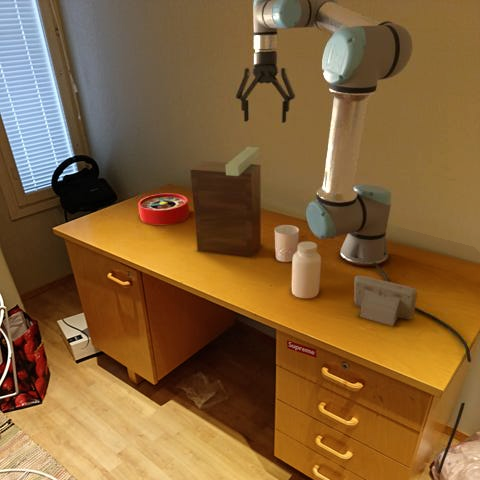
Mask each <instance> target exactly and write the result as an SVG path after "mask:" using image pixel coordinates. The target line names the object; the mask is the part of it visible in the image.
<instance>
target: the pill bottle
mask: <svg viewBox="0 0 480 480" xmlns="http://www.w3.org/2000/svg"><path fill="white" fill-rule="evenodd" d="M291 263H292V264H291V265H292V266H291V293H292V295H293V296H294V297H296V298H299V299H313V298H315V297H317V296H318V295H319V293H320V283H321V269H322V256H321V255H320V254H319V253H318V244H317V243H316V242H314V241H308V240H307V241H301V242H298V246H297V251H296V253H295V254H294V256H293V259H292V261H291Z"/></svg>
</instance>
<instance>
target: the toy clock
mask: <svg viewBox="0 0 480 480" xmlns="http://www.w3.org/2000/svg"><path fill="white" fill-rule="evenodd" d="M137 205H138V212H139V218H140V220H141V222H143V223H146V224H149V225H154V226H155V225H156V226H164V225H165V226H166V225H171V224H177V223H180V222H182V221H184V220H186V219H187V218H189V216H190V208H189V199H188V198H187V196H186V195H184V194H183V195H182V194H180V193H171V192H169V193H168V192H167V193H157V194H152V195H148V196H145V197H144V198H141V199H140V200H139V201H138V203H137Z"/></svg>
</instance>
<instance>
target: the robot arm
mask: <svg viewBox="0 0 480 480" xmlns="http://www.w3.org/2000/svg"><path fill="white" fill-rule="evenodd" d="M252 9H253V14H252V15H253V50H254V52H253V68H250V67H245V68H244V71H243V72H244V73H243V78H242V80H241V83H240V85H239V88H238V90H237V92H236V94H235V98H236V99H238V100H240V103H241V105H240V107H241V111H242V112H243V119H244V120H243V121H244V122H246V123H247V122H248V121H249V120H250V119H249V116H250V115H249V113H250V111H249V99H247V98H248V97H249V95H251V94H252V92H253V90H254V89H255V87H256V86H257V85H258V84H272V85H273V86H274V88H275V89H276V90H277V91H278V93H279V94H280V96H281V97H282V99H283V101H282V110H281V111H282V112H281V123H283V124H285V123H286V122H287V113H288V112H289V111H290V101H291V100H294V99H295V98H296V94H295V92H294V89H293V87H292V84H291V82H290V80H289V77H288V74H287V73H288V72H287V67H284V66H283V67H281V68H278V52H277V49H278V29H279V30H289V29H299V28H303V29H304V28H314V29H317V30H319V31H322V32H323V33H325V34H327V35H329V36H331V37H330V38H329V39H328V41H327V43H326V45H325V48H324V51H323V54H322V60H321V61H322V62H321V68H322V71H323V77H324V80H325V81H326V82H327V83H328V84H329V86H328V89H329V91H330V93H331V94H332V95H333V103H332V112H331V117H330V118H331V119H330V127H329V135H328V143H327V150H326V158H325V166H324V173H323V181H322V185H321V187H319V188H318V189H317V190H316V193H315V194H316V195H315V200H311V201H310V202H309V203H308V204H307V206H306V210H305V214H306V221H307V225H308V226H309V229H310V231H311V232H312V234H313V235H314V236H315V237H316V238H318V239H320V240H327V239H335V238H336V237H340V236H344V235H346V237H345V239H344V241H343V244H342V246H341V248H340V253H339V257H340V259H341V260H342V261H344V262H345V263H347V264H349V265H352V266H356V267H360V268H361V267H362V268H374V267H376V269H377V270H378V271H379V272H380V273H381V275H382V276H383V277H384V279H385V281H387V282H390V280H389V278H388V276H387V274H386V272H385V271H384V270H383V269H382V268H381V267H380V266H381V265H384V264H385V263H386V262H387V261H388V258H389V250H388V244H387V237H386V234H387V229H388V223H389V217H390V212H391V206H392V193H391V191H390V190H388V189H387V188H385V187H382V186H379V185H373V184H366V183H365V184H356V185H354V183H355V179H356V174H357V166H358V161H359V157H360V156H359V155H360V149H361V144H362V137H363V132H364V127H365V120H366V114H367V108H368V102H369V99H370V98H371V97H372V96H373V95H374V94H375V93H376V92H377V86H378V81H380V80H381V81H382V80H388V79H390V78H394V77H395V76H397V75H398V74H399V73H401V72H402V71H403V70H404V69H405V67H406V66H408V63H409V61H410V60H411V58H412V57H411V56H412V54H413V53H412V52H413V39H412V36H411V34H410V32H409V31H408V30H407V29H406V28H405V27H404V26H402V25H400V24H397V23H396V22H395V23H394V22H393V21H390V20H384V21H383V20H382V21H381V22H380V21H378V20H375V19H372V18H370V17H368V16H366V15H363V14H361V13H359V12H356V11H355V10H354V11H353V10H352V9H349V8H347V7H344V6H342V5H340V4H339V2H338V0H253V6H252ZM278 74H279V76H281V78H282V82H283V84H284V86H285V87H283V86H282V85H281V83H280V82H279V79H278V78H277V75H278ZM252 75H253V76H254V78H253V80H252V82H251V83H250V85H249V86H248V87H247V89H246V90H245V88H246V86H247V83H248V81H249V79H250V76H252ZM285 89H286V90H285ZM244 90H245V92H244ZM415 311H416V312H417V313H419V314H422V315H423V316H426V317H428V318H430V319H432V320H433V321H435V322H436V323H439V324H440V325H442V326H443V327H445V328H446V329H447V330H449V331H450V332H451V333H452V334H454V336H456V337H457V339H458V341H460V342H461V344H462V346H463V347H464V349H465V353H466V355H465V356H466V362H468V363H471V362H472V358H471V352H470V347H469V344H468V343H467V342H466V340H465V339H464V338H463V336H461V335H460V333H459V332H457V331H456V330H455V329H454V328H453V327H452V326H451V325H449V324H447V323H446V322H445V321H443V320H441V319H439V318H438V317H436V316H435V315H432V314H430V313H428V312H426V311H424V310H422V309H420V308H418V307H417V306H415ZM465 404H466V402H461V404H460V407H459V410H458V414H457V417H456V420H455V423H454V426H453V428H452V431H451V434H450V437H449V439H448V441H447V445H446V447H445V449H444V452H443V455H442V458H441V461H440V463H439V467H438V470H437V474H439V475H440V474H442V470H443V466H444V463H445V461H446V458H447V455H448V453H449V450H450V447H451V445H452V443H453V440H454V437H455V435H456V432H457V429H458V426H459V424H460V421H461V418H462V414H463V412H464V408H465Z"/></svg>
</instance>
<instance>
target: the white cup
mask: <svg viewBox="0 0 480 480" xmlns="http://www.w3.org/2000/svg"><path fill="white" fill-rule="evenodd" d="M299 235H300V229H299V228H298V226H296V225H291V224H281V225H277V226H276V227H274V250H275V259H276V260H277V261H279V262H283V263H290V262H291V263H292V259H293V256H294V254H295V253H296V252H297V251H298V244H299Z"/></svg>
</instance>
